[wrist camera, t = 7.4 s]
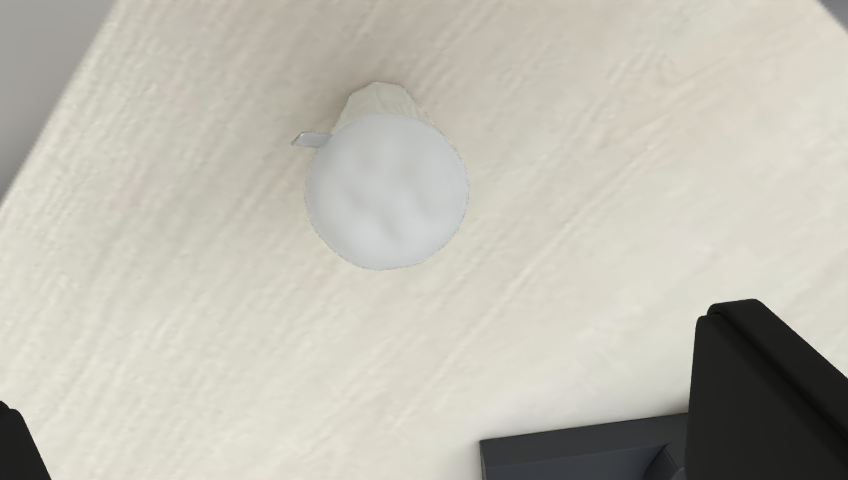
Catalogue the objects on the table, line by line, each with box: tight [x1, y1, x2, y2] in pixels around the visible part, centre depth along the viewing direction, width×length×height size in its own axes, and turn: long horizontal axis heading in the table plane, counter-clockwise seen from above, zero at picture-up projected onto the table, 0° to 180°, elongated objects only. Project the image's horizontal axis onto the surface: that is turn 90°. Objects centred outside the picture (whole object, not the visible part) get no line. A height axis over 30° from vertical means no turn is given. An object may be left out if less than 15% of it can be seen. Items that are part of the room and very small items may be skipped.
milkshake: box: [291, 81, 469, 271], centre depth 20 cm, size 4×5×10 cm
